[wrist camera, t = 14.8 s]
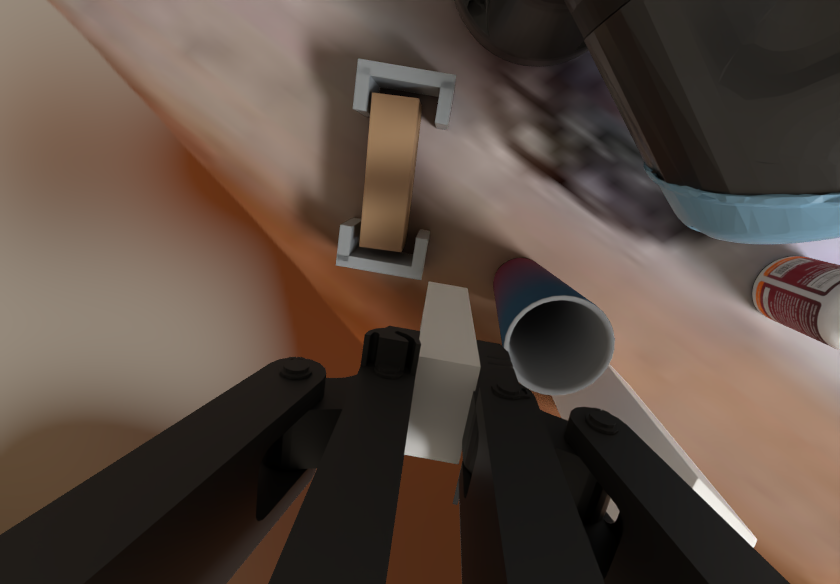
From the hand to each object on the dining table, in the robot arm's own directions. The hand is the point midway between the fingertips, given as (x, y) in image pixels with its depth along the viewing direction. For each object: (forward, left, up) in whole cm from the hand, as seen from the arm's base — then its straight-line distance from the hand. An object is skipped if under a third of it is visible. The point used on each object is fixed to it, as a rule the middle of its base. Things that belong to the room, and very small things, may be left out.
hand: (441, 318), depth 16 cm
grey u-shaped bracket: (-10, -5, -24) cm, 27 cm away
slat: (-4, -5, -25) cm, 26 cm away
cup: (+4, +8, -25) cm, 26 cm away
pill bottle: (0, +32, -25) cm, 40 cm away
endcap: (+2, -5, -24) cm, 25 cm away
